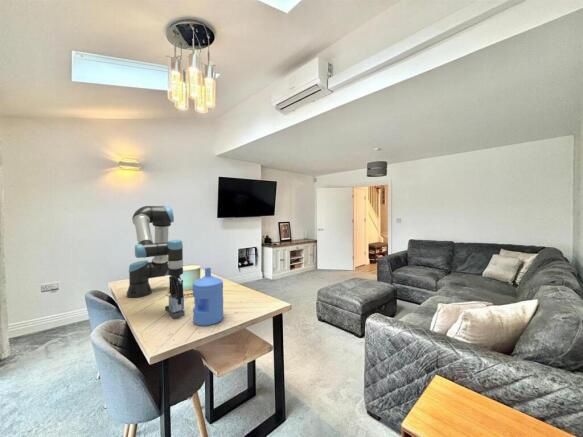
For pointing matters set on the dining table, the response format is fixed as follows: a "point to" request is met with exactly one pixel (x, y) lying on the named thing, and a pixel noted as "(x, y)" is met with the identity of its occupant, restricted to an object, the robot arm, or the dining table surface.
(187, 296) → the dining table surface
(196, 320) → the water jug
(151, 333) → the dining table surface
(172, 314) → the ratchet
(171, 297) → the socket
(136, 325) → the dining table surface
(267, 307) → the dining table surface
